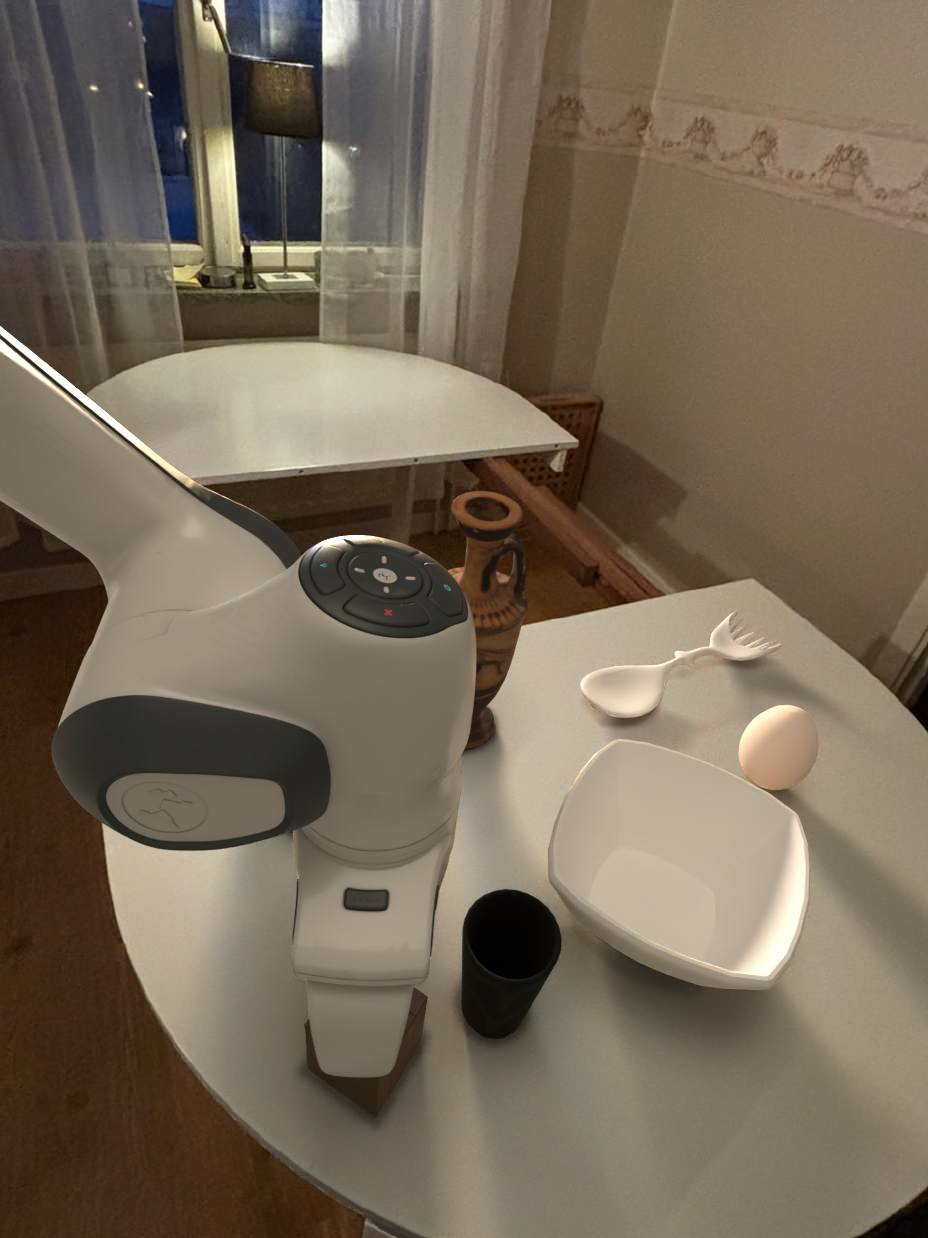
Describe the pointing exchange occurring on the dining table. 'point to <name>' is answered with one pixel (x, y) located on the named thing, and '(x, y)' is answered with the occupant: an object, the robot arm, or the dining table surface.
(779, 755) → the egg
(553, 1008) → the dining table surface
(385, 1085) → the holder
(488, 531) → the vase
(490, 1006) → the cup
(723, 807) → the bowl
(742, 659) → the spoon
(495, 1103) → the dining table surface
